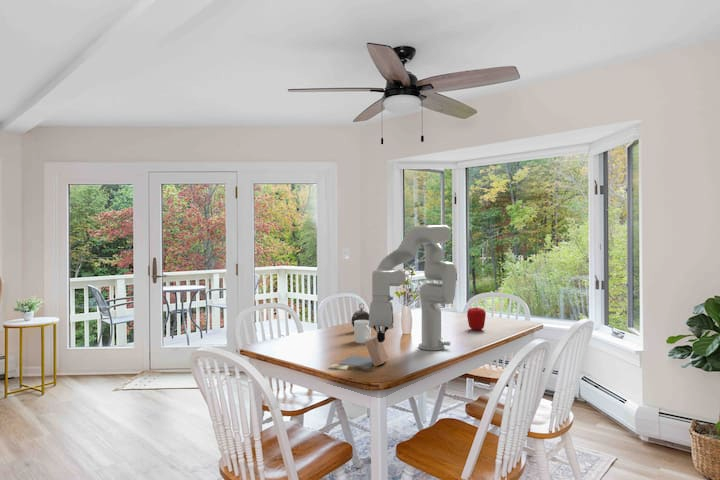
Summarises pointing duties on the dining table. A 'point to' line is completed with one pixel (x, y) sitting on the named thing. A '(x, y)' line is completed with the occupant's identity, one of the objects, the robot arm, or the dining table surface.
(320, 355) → the dining table surface
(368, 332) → the mug
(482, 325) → the red bell pepper
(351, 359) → the mat
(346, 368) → the turner
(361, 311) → the alarm clock
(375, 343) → the tan wooden block
